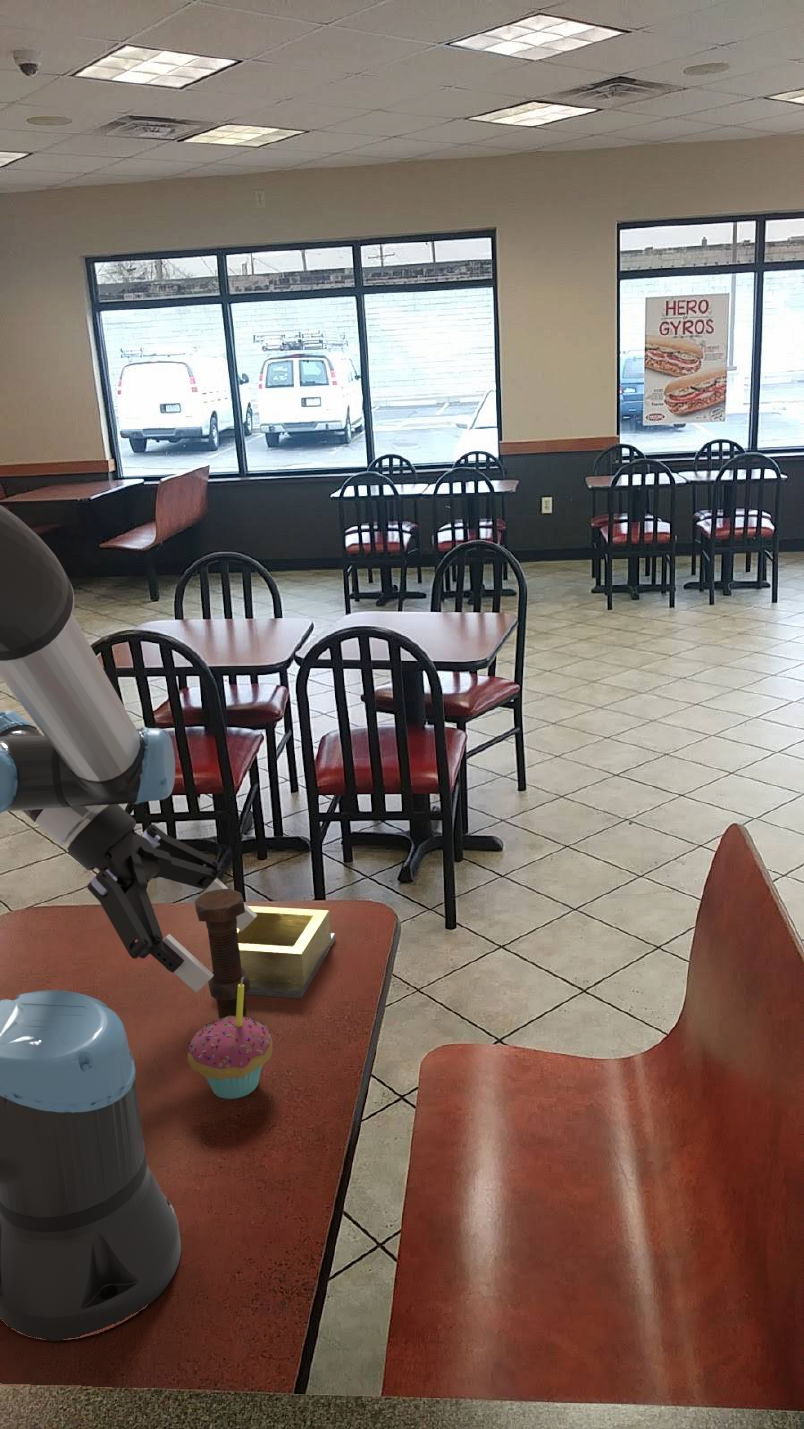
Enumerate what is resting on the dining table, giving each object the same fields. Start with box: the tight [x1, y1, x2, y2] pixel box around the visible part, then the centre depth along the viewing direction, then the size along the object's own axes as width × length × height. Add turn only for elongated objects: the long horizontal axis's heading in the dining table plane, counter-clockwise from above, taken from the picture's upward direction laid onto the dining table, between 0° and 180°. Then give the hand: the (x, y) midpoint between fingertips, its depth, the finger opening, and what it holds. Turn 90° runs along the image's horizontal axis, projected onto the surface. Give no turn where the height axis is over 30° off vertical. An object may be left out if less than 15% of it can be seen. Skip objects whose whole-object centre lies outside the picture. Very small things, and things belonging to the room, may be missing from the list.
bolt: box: [194, 888, 250, 1019], centre depth 124 cm, size 6×5×15 cm
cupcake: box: [187, 977, 273, 1100], centre depth 112 cm, size 9×8×12 cm
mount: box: [237, 905, 336, 1000], centre depth 136 cm, size 14×11×5 cm
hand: (228, 952), depth 124 cm, fingers open, 13 cm apart
